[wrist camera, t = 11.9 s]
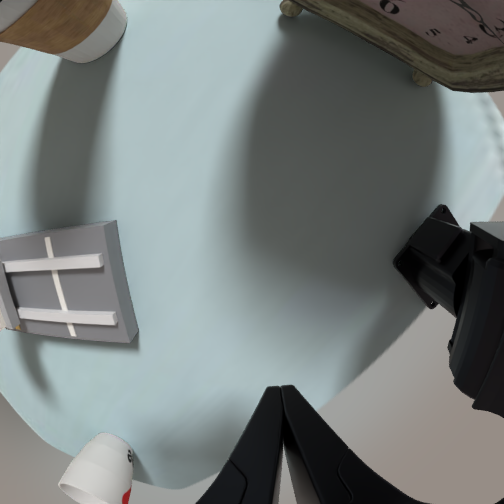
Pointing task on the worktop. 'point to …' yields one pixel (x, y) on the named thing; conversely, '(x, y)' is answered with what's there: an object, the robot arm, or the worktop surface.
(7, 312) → the plate
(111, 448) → the cup
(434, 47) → the tabletop clock
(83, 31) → the coffee cup
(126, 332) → the fader console
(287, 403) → the robot arm
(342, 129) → the worktop surface
